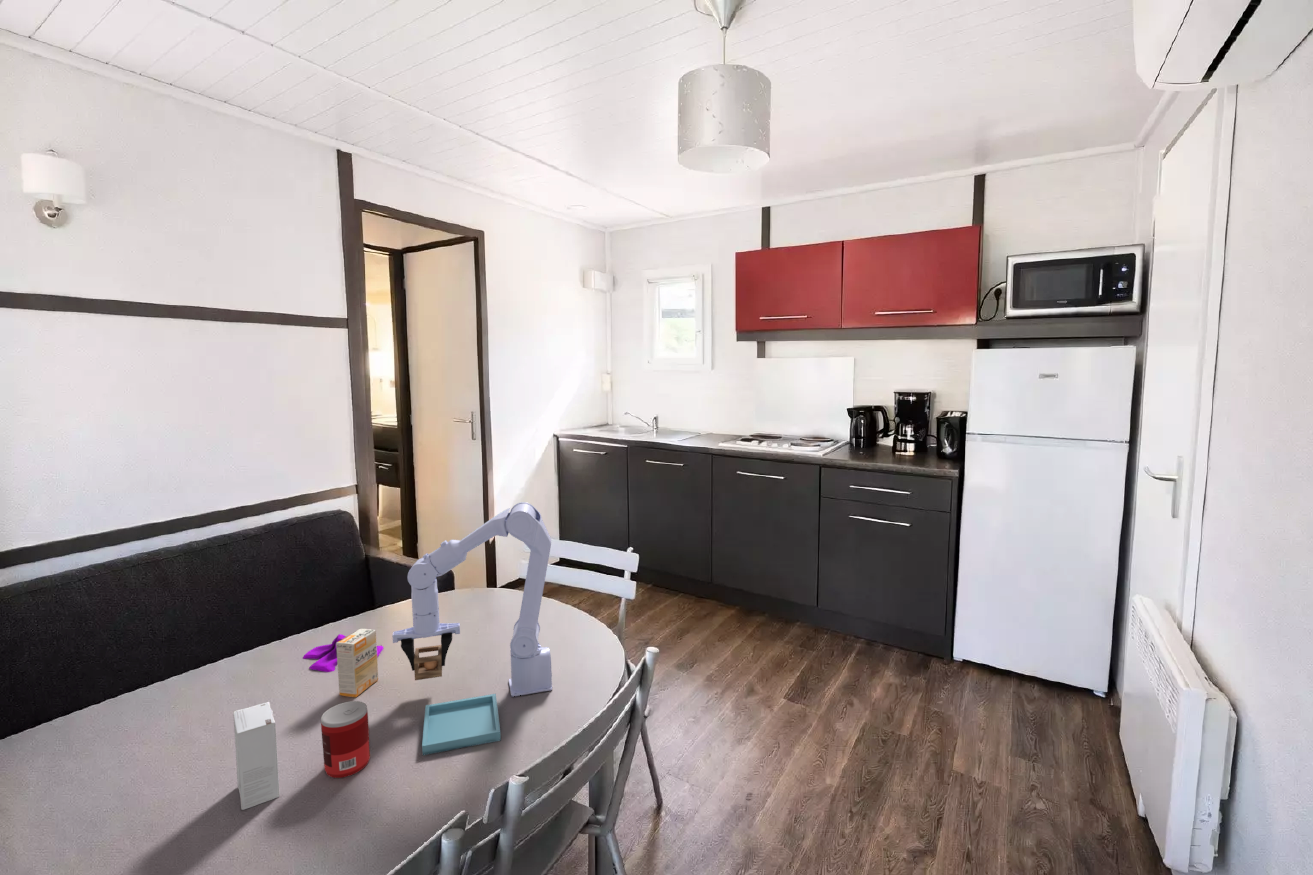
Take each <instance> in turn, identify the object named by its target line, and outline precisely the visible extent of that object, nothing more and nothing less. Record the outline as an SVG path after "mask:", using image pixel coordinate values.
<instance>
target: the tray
mask: <svg viewBox="0 0 1313 875" xmlns="http://www.w3.org/2000/svg"><path fill="white" fill-rule="evenodd" d="M496 694H497V693H491V694H486V695H479V696H473V697H467V698H462V699H456V700H450V701H443V702H437V703H431V704H425V707H424V708H425V709H424V719H423V720H424V722H423V729H422V730H423V732H422V744H421V750H422V753H421V754H422V756H427V755H433V754H438V753H443V752H448V751H453V750H458V749H463V748H469V747H474V746H479V745H484V744H489V743H495V742H500V741H501V728H500V727H501V726H500V718H499V710H498V702H497V695H496Z"/></svg>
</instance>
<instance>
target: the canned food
mask: <svg viewBox="0 0 1313 875" xmlns="http://www.w3.org/2000/svg"><path fill="white" fill-rule="evenodd" d="M320 728H321V729H320V730H321V742H322V743H321V744H322V755H323V768H324V770H325V771H324V772H325V773H326V775H327V776H328V777H330V778H334V779H335V778H336V779H342V778H346V777H351V776H352V775H355V774H357V773H359V772H360V771H362V770H363V769H365V767H366V766H367V765H368V763H369V762H370V758H371V746H370V745H371V744H370V728H369V712H368V705H367V704H366V703H365V702H363V701H358V700H354V701H353V700H351V701H345V702H342V703H339V704H335V705H334V706H332V707H330V708H329V709H327V710H326V711H324V712H323V714H322V715H321V717H320Z"/></svg>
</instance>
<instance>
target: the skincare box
mask: <svg viewBox="0 0 1313 875" xmlns="http://www.w3.org/2000/svg"><path fill="white" fill-rule="evenodd" d="M232 716H233V729H234V745H235V761H236V780H237V783H236V784H237V788H238V791H239V797H240V810H241V811H244V810H248V809H250V808H253V807H255V806H258V805H260V804H263V803H267V802H269V801H272V800H274V799H277V798H279V797H280V783H279V782H280V780H279V764H278V763H279V761H278V747H277V746H278V745H277V729H276V728H277V726H276V721H275V718H274V711H273V709H272V708H271V703H270V701H267V702H262V703H258V704H256V705H252V706H249V707H245V708H242V709H237V710H235V711H233V714H232Z"/></svg>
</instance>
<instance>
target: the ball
mask: <svg viewBox="0 0 1313 875" xmlns="http://www.w3.org/2000/svg"><path fill="white" fill-rule="evenodd" d="M437 664H438V662H437V661H431V662H424V667H425V669H426V670H434V669H435V668H436V667H437Z"/></svg>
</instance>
